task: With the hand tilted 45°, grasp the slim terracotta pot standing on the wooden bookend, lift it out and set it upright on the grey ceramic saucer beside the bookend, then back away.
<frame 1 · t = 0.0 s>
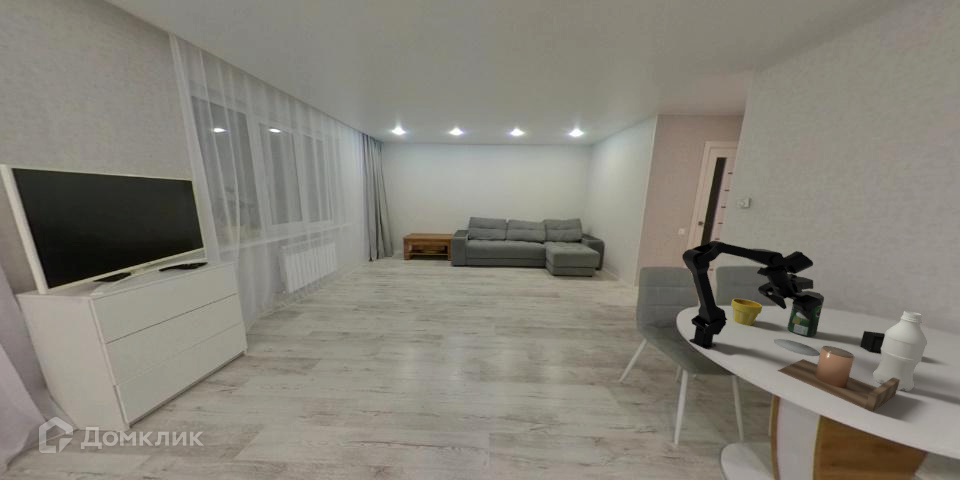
hand: (796, 313, 106), 15 cm above the table, tool tilted 35°, fingers open, 9 cm apart
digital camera: (884, 353, 108), on the table
plant pot: (743, 322, 132), on the table
ceramic saucer: (795, 349, 109), on the table
coffee jar: (800, 332, 123), on the table
water bottle: (890, 387, 88), on the table
wooden bookend: (829, 383, 89), on the table
terracotta pot: (830, 380, 89), point 1 cm above the table, touching wooden bookend
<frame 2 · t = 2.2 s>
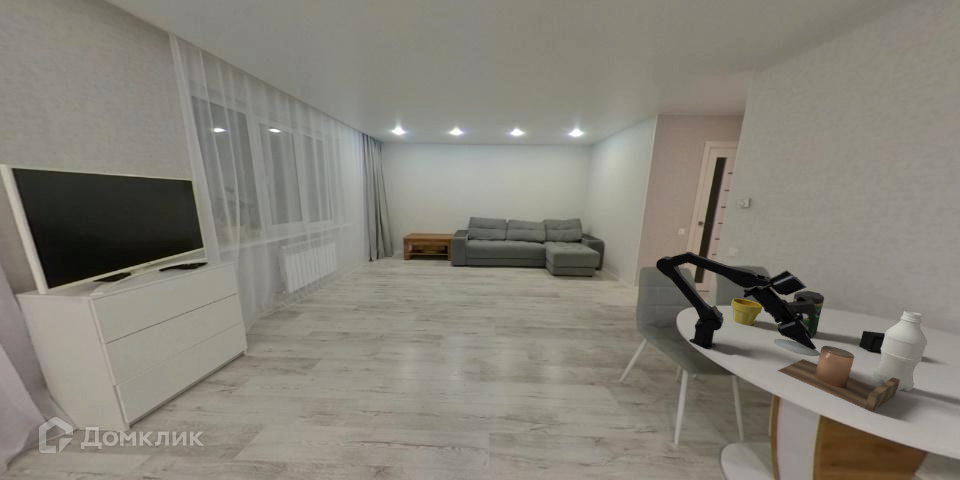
hand: (812, 343, 91), 12 cm above the table, tool tilted 45°, fingers open, 9 cm apart
nothing on the table moved.
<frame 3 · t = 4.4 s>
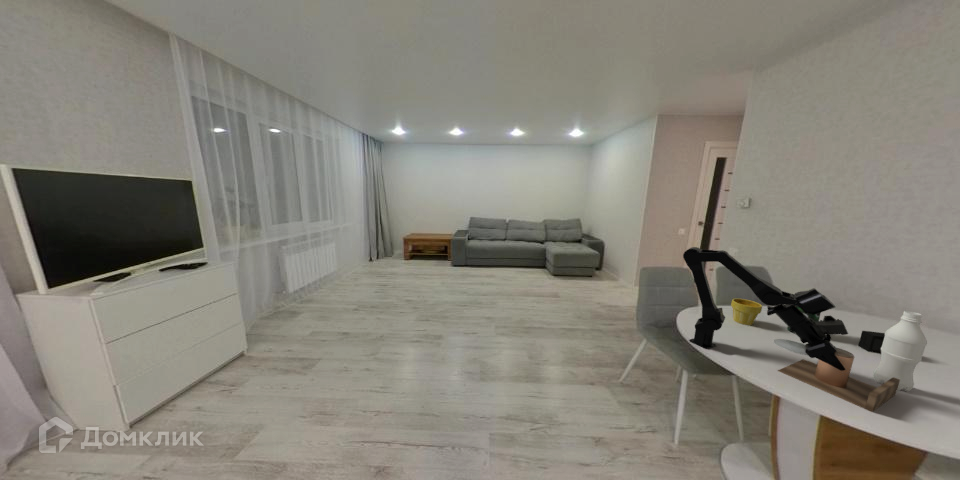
hand: (841, 365, 87), 7 cm above the table, tool tilted 45°, fingers closed on terracotta pot, 6 cm apart
terracotta pot: (830, 380, 89), point 1 cm above the table, touching wooden bookend, gripper
everything else where it was.
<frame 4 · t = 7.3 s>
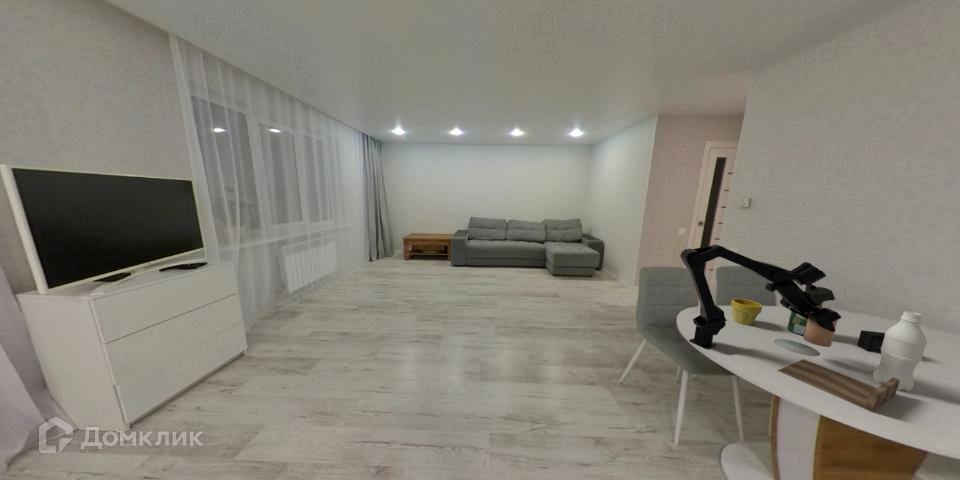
hand: (825, 326, 99), 13 cm above the table, tool tilted 45°, fingers closed on terracotta pot, 6 cm apart
terracotta pot: (816, 342, 100), point 7 cm above the table, touching gripper
everything else where it was.
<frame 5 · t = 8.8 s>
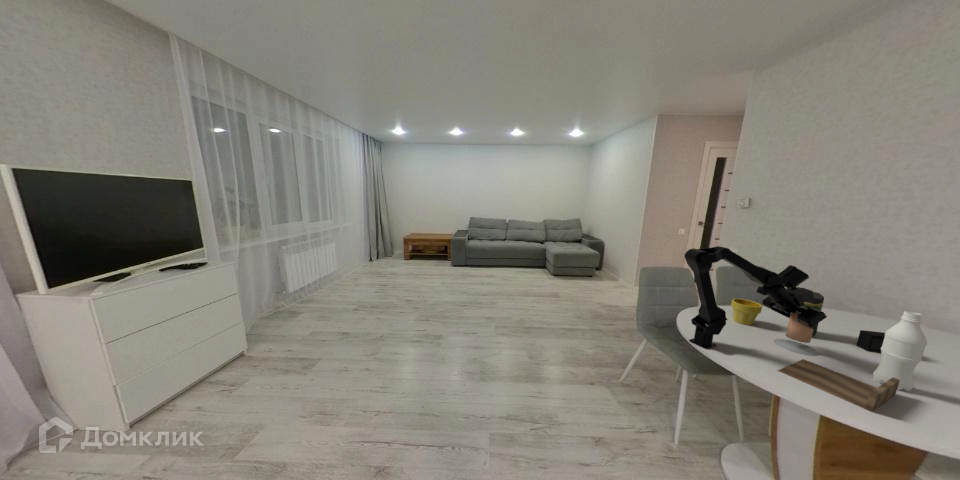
hand: (804, 324, 107), 11 cm above the table, tool tilted 45°, fingers closed on terracotta pot, 6 cm apart
terracotta pot: (797, 338, 108), point 5 cm above the table, touching gripper
when the fingers open (8 cm above the table, at t = 10.2 s): terracotta pot drops 1 cm, resting on ceramic saucer.
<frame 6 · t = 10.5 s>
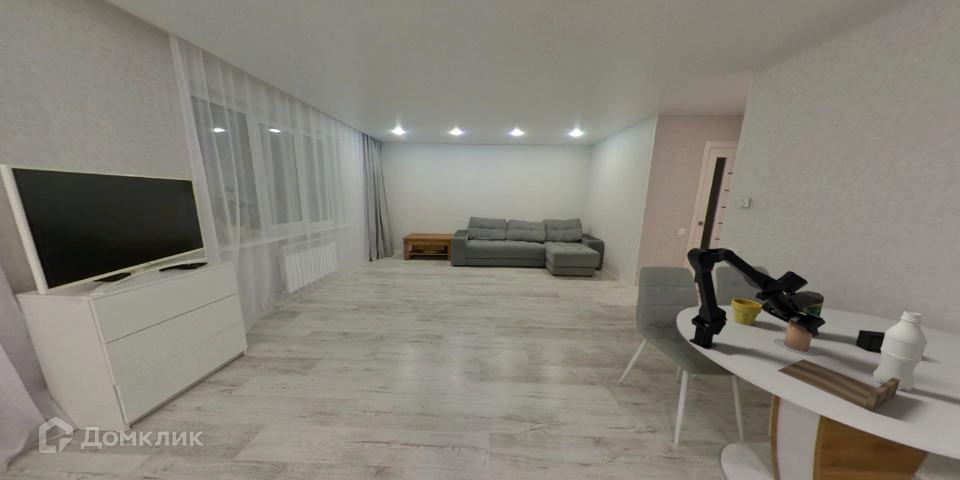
hand: (804, 329, 107), 9 cm above the table, tool tilted 45°, fingers open, 9 cm apart
terracotta pot: (795, 347, 109), point 1 cm above the table, touching ceramic saucer
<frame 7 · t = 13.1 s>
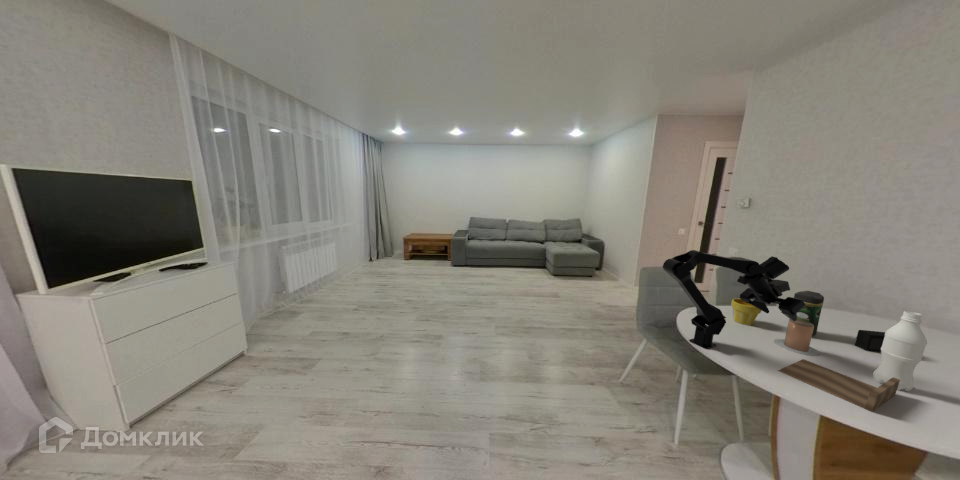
hand: (781, 316, 108), 13 cm above the table, tool tilted 40°, fingers open, 9 cm apart
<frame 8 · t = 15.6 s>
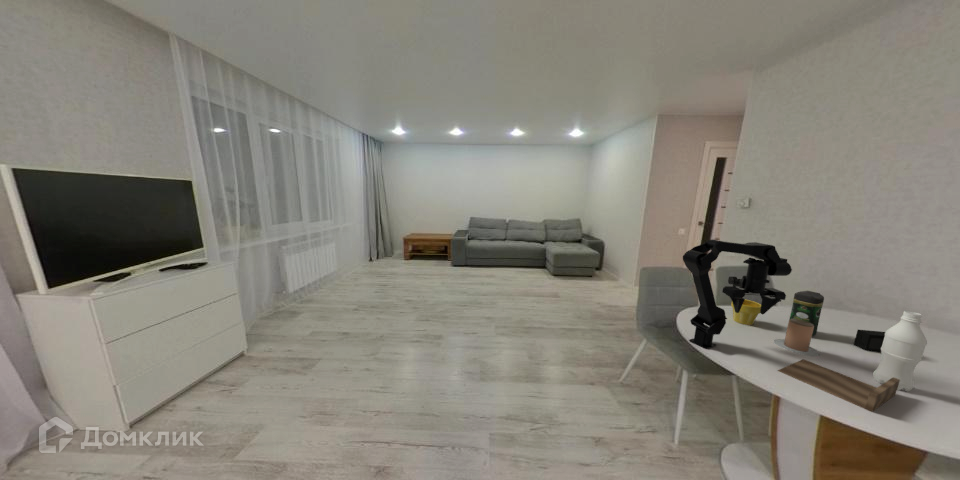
hand: (749, 313, 110), 13 cm above the table, tool pointing down, fingers open, 9 cm apart
at the end: terracotta pot inside the target area on the ceramic saucer (0.0 cm from its centre), point 1.0 cm above the ceramic saucer's base; terracotta pot tilted 0°; the gripper is holding nothing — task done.
